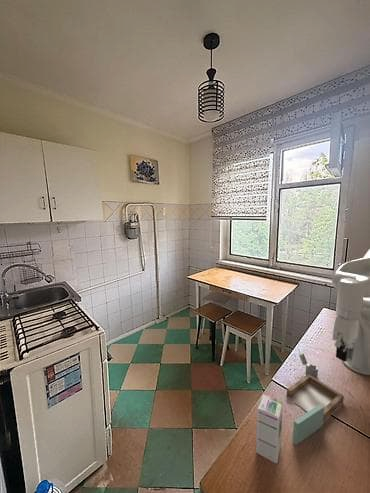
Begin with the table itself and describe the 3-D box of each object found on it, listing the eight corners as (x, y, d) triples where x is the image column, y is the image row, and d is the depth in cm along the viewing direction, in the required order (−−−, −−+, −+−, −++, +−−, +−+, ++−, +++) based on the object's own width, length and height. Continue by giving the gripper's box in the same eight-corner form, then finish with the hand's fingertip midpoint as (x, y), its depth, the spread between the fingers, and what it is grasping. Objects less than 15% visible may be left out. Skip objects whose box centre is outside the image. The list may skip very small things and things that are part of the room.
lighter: (317, 377, 89) (319, 359, 88) (316, 379, 88) (318, 361, 86) (298, 368, 94) (300, 351, 93) (297, 370, 92) (299, 353, 91)
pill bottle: (354, 363, 80) (356, 342, 79) (340, 361, 81) (342, 341, 80) (347, 354, 85) (349, 335, 83) (334, 353, 86) (336, 334, 84)
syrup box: (277, 465, 58) (280, 418, 56) (255, 452, 61) (257, 407, 59) (280, 445, 63) (283, 402, 61) (259, 435, 66) (262, 393, 64)
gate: (318, 422, 69) (320, 403, 68) (322, 426, 68) (324, 406, 67) (292, 441, 64) (294, 420, 63) (296, 445, 63) (297, 424, 62)
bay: (307, 380, 87) (308, 374, 87) (342, 403, 77) (343, 395, 76) (286, 396, 80) (286, 389, 79) (321, 423, 69) (322, 415, 69)
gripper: (347, 302, 87) (343, 343, 90) (325, 314, 78) (322, 359, 82) (370, 309, 81) (365, 353, 84) (349, 323, 72) (345, 371, 75)
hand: (344, 355), depth 83 cm, fingers closed on pill bottle, 4 cm apart
